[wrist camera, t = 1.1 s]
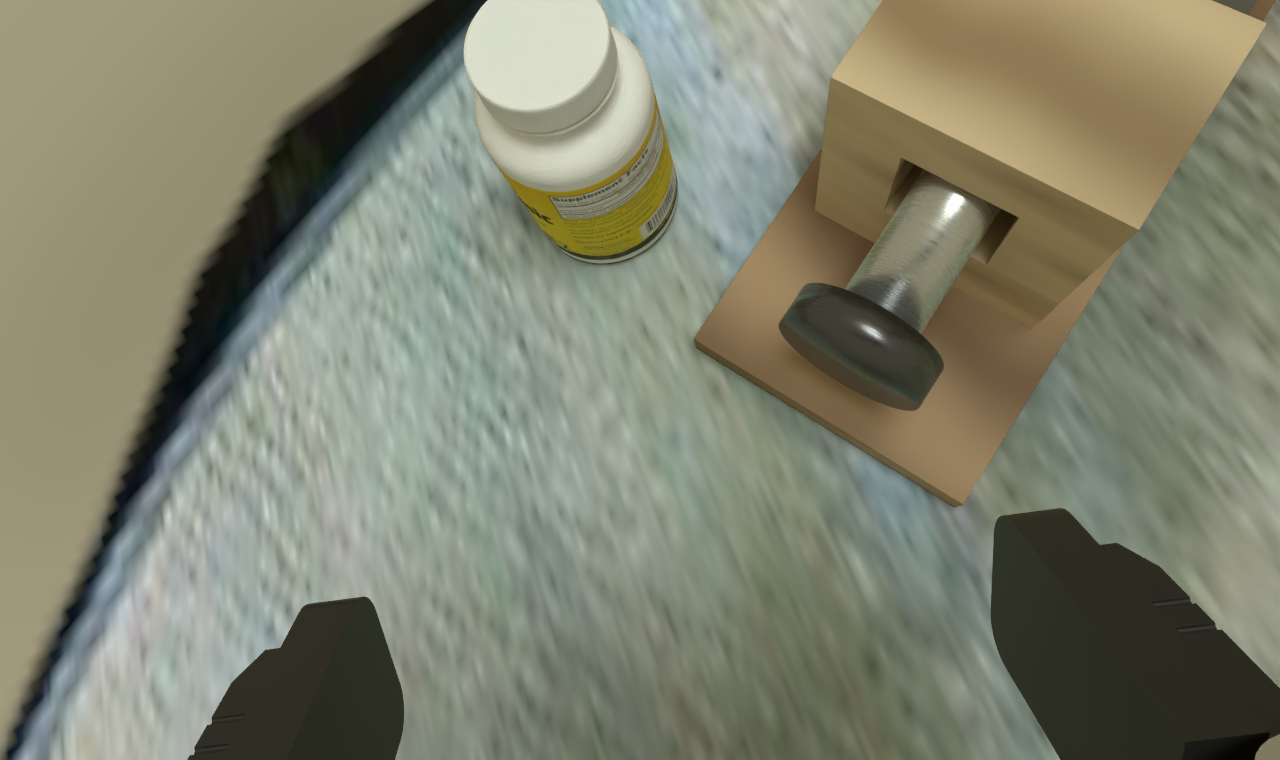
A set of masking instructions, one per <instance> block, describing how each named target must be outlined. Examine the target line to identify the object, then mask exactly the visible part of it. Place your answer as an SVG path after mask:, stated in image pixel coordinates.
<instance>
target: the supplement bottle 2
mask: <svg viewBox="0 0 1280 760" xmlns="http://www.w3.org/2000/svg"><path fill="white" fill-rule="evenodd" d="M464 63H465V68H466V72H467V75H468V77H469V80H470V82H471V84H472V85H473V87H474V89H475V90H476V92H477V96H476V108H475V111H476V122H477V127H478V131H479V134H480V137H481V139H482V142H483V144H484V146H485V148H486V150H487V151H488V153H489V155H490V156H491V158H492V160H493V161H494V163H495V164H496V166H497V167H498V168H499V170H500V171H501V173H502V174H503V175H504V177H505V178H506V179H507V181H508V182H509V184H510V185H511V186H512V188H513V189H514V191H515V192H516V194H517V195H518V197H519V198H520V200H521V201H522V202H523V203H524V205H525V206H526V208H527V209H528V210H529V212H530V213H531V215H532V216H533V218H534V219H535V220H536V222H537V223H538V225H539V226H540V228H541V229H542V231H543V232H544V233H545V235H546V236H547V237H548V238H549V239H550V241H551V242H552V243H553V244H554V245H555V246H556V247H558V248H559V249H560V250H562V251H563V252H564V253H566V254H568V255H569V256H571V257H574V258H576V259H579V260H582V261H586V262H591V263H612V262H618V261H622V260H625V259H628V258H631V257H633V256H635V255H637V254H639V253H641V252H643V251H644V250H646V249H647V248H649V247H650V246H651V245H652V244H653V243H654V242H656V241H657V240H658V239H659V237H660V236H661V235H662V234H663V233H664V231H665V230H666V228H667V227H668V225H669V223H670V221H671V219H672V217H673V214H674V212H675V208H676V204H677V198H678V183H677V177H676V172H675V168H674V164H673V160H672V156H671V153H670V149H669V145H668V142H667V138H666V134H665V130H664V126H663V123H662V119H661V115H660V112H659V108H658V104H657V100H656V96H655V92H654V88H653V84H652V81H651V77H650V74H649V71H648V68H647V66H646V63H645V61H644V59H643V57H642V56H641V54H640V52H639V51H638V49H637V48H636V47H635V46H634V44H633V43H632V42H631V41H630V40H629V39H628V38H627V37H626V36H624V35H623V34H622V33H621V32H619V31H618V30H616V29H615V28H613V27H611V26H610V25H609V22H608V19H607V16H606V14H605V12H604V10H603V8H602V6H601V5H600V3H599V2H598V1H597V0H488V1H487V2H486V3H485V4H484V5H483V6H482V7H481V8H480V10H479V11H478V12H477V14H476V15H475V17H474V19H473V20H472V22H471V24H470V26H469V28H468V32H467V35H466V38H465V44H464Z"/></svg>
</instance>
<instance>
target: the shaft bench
mask: <svg viewBox="0 0 1280 760" xmlns="http://www.w3.org/2000/svg"><path fill="white" fill-rule="evenodd" d="M1274 2H1275V0H883V1H882V2H881V4H880V5H879V7H878V8H877V10H876V11H875V13H874V14H873V16H872V17H871V19H870V20H869V22H868V23H867V24H866V26H865V27H864V29H863V30H862V32H861V33H860V35H859V36H858V38H857V39H856V41H855V42H854V44H853V45H852V46H851V48H850V49H849V51H848V52H847V54H846V55H845V57H844V58H843V60H842V61H841V63H840V64H839V66H838V67H837V68H836V70H835V71H834V73H833V74H832V76H831V79H830V87H829V95H828V104H827V112H826V120H825V128H824V137H823V145H822V150H821V151H820V153H819V154H818V155H817V157H816V158H815V160H814V161H813V163H812V164H811V166H810V167H809V169H808V170H807V172H806V173H805V175H804V176H803V178H802V179H801V181H800V182H799V184H798V185H797V187H796V188H795V190H794V191H793V193H792V194H791V195H790V197H789V198H788V200H787V201H786V203H785V204H784V206H783V207H782V209H781V210H780V212H779V213H778V215H777V216H776V218H775V219H774V221H773V222H772V224H771V225H770V227H769V228H768V230H767V231H766V232H765V234H764V235H763V237H762V238H761V240H760V241H759V243H758V244H757V246H756V247H755V249H754V250H753V252H752V253H751V255H750V256H749V258H748V259H747V261H746V262H745V264H744V265H743V267H742V268H741V270H740V271H739V272H738V274H737V275H736V277H735V278H734V280H733V281H732V283H731V284H730V286H729V287H728V289H727V290H726V292H725V293H724V295H723V296H722V298H721V299H720V301H719V302H718V304H717V305H716V307H715V308H714V310H713V311H712V312H711V314H710V315H709V317H708V318H707V320H706V321H705V323H704V324H703V326H702V327H701V329H700V330H699V332H698V333H697V335H696V336H695V338H694V342H695V345H696V348H697V349H699V350H701V351H702V352H704V353H705V354H707V355H709V356H710V357H712V358H714V359H715V360H717V361H718V362H720V363H722V364H723V365H725V366H727V367H728V368H730V369H731V370H733V371H735V372H736V373H738V374H739V375H741V376H743V377H744V378H746V379H748V380H749V381H751V382H752V383H754V384H756V385H757V386H759V387H761V388H762V389H764V390H765V391H767V392H769V393H770V394H772V395H774V396H775V397H777V398H778V399H780V400H782V401H783V402H785V403H786V404H788V405H790V406H791V407H793V408H795V409H796V410H798V411H799V412H801V413H803V414H804V415H806V416H808V417H809V418H811V419H812V420H814V421H816V422H817V423H819V424H821V425H822V426H824V427H825V428H827V429H829V430H830V431H832V432H833V433H835V434H837V435H838V436H840V437H842V438H843V439H845V440H846V441H848V442H850V443H851V444H853V445H855V446H856V447H858V448H859V449H861V450H863V451H864V452H866V453H868V454H869V455H871V456H872V457H874V458H876V459H877V460H879V461H881V462H882V463H884V464H885V465H887V466H889V467H890V468H892V469H893V470H895V471H897V472H898V473H900V474H902V475H903V476H905V477H906V478H908V479H910V480H911V481H913V482H915V483H916V484H918V485H919V486H921V487H923V488H924V489H926V490H928V491H929V492H931V493H932V494H934V495H936V496H937V497H939V498H940V499H942V500H944V501H945V502H947V503H949V504H950V505H952V506H953V507H957V506H960V505H963V504H964V502H965V501H966V499H967V497H968V496H969V494H970V492H971V491H972V489H973V488H974V486H975V484H976V483H977V481H978V480H979V478H980V476H981V475H982V473H983V472H984V470H985V468H986V467H987V465H988V463H989V462H990V460H991V459H992V457H993V455H994V454H995V452H996V451H997V449H998V447H999V446H1000V444H1001V442H1002V441H1003V439H1004V438H1005V436H1006V434H1007V433H1008V431H1009V430H1010V428H1011V426H1012V425H1013V423H1014V421H1015V420H1016V418H1017V417H1018V415H1019V413H1020V412H1021V410H1022V409H1023V407H1024V405H1025V404H1026V402H1027V401H1028V399H1029V397H1030V396H1031V394H1032V392H1033V391H1034V389H1035V388H1036V386H1037V384H1038V383H1039V381H1040V380H1041V378H1042V376H1043V375H1044V373H1045V371H1046V370H1047V368H1048V367H1049V365H1050V363H1051V362H1052V360H1053V359H1054V357H1055V355H1056V354H1057V352H1058V350H1059V349H1060V347H1061V346H1062V344H1063V342H1064V341H1065V339H1066V338H1067V336H1068V334H1069V333H1070V331H1071V330H1072V328H1073V326H1074V325H1075V323H1076V321H1077V320H1078V318H1079V317H1080V315H1081V313H1082V312H1083V310H1084V309H1085V307H1086V305H1087V304H1088V302H1089V300H1090V299H1091V297H1092V296H1093V294H1094V292H1095V291H1096V289H1097V288H1098V286H1099V284H1100V283H1101V281H1102V279H1103V278H1104V276H1105V275H1106V273H1107V271H1108V270H1109V268H1110V267H1111V265H1112V263H1113V262H1114V260H1115V259H1116V257H1117V255H1118V254H1119V252H1120V250H1121V249H1122V247H1123V246H1124V244H1125V243H1126V242H1127V241H1128V240H1129V239H1130V238H1131V237H1132V236H1133V235H1134V234H1135V233H1136V232H1137V231H1138V230H1139V229H1140V228H1141V226H1142V224H1143V223H1144V221H1145V220H1146V218H1147V216H1148V215H1149V213H1150V211H1151V210H1152V208H1153V207H1154V205H1155V203H1156V202H1157V200H1158V199H1159V197H1160V195H1161V194H1162V192H1163V190H1164V189H1165V187H1166V186H1167V184H1168V182H1169V181H1170V179H1171V178H1172V176H1173V174H1174V173H1175V171H1176V169H1177V168H1178V166H1179V165H1180V163H1181V161H1182V160H1183V158H1184V157H1185V155H1186V153H1187V152H1188V150H1189V148H1190V147H1191V145H1192V144H1193V142H1194V140H1195V139H1196V137H1197V135H1198V134H1199V132H1200V131H1201V129H1202V127H1203V126H1204V124H1205V123H1206V121H1207V119H1208V118H1209V116H1210V114H1211V113H1212V111H1213V110H1214V108H1215V106H1216V105H1217V103H1218V102H1219V100H1220V98H1221V97H1222V95H1223V93H1224V92H1225V90H1226V89H1227V87H1228V85H1229V84H1230V82H1231V81H1232V79H1233V77H1234V76H1235V74H1236V72H1237V71H1238V69H1239V68H1240V66H1241V64H1242V63H1243V61H1244V60H1245V58H1246V56H1247V55H1248V53H1249V51H1250V50H1251V48H1252V47H1253V45H1254V43H1255V42H1256V40H1257V39H1258V37H1259V35H1260V34H1261V32H1262V30H1263V29H1264V27H1265V26H1266V24H1267V23H1265V22H1263V20H1264V18H1265V16H1266V15H1267V13H1268V12H1269V10H1270V8H1271V7H1272V5H1273V4H1274ZM923 169H925V170H927V171H929V172H931V173H933V174H934V175H936V176H938V177H940V178H942V179H944V180H946V181H948V182H950V183H952V184H954V185H956V186H958V187H960V188H962V189H964V190H966V191H968V192H970V193H972V194H974V195H976V196H978V197H979V198H981V199H983V200H985V201H987V202H989V203H991V204H993V205H995V206H997V207H999V208H1001V210H1000V212H999V213H998V215H997V216H996V218H995V220H994V221H993V223H992V224H991V226H990V227H989V229H988V230H987V232H986V234H985V235H984V237H983V238H982V240H981V241H980V243H979V244H978V246H977V248H976V249H975V251H974V252H973V254H972V255H971V257H970V259H969V260H968V262H967V263H966V265H965V266H964V268H963V269H962V271H961V273H960V274H959V276H958V277H957V279H956V280H955V282H954V283H953V285H952V287H951V288H950V290H949V291H948V293H947V294H946V296H945V297H944V299H943V301H942V302H941V304H940V305H939V307H938V308H937V310H936V311H935V313H934V315H933V316H932V318H931V319H930V321H929V322H928V324H927V326H926V327H925V329H924V330H923V332H922V333H921V335H923V336H924V337H925V338H926V339H927V340H928V341H929V342H930V343H931V344H932V345H933V347H934V348H935V349H936V350H937V352H938V353H939V354H940V356H941V358H942V360H943V363H944V369H943V371H942V373H941V375H940V376H939V378H938V379H937V381H936V382H935V384H934V386H933V387H932V389H931V390H930V392H929V393H928V395H927V397H926V398H925V400H924V401H923V403H922V405H921V406H920V408H919V409H917V410H915V411H905V410H900V409H895V408H892V407H889V406H886V405H883V404H881V403H878V402H876V401H874V400H871V399H869V398H867V397H865V396H863V395H861V394H859V393H857V392H855V391H853V390H851V389H850V388H848V387H846V386H844V385H843V384H841V383H839V382H838V381H836V380H834V379H833V378H831V377H830V376H828V375H827V374H825V373H824V372H822V371H821V370H819V369H818V368H817V367H815V366H814V365H813V364H811V363H810V362H809V361H807V360H806V359H805V358H804V357H803V356H801V355H800V354H799V353H798V352H797V351H796V350H795V349H794V348H793V347H792V346H791V345H790V344H789V343H788V342H787V341H786V340H785V338H784V337H783V336H782V334H781V332H780V330H779V326H778V325H779V322H780V321H781V319H782V318H783V316H784V315H785V313H786V312H787V310H788V309H789V307H790V306H791V304H792V303H793V301H794V299H795V298H796V296H797V295H798V293H799V292H800V290H801V289H802V288H803V286H804V285H806V284H809V283H824V284H829V285H833V286H837V287H840V288H843V289H845V288H846V286H847V285H848V283H849V282H850V280H851V279H852V277H853V276H854V274H855V273H856V271H857V270H858V268H859V267H860V265H861V264H862V262H863V261H864V259H865V257H866V256H867V254H868V253H869V251H870V250H871V248H872V247H873V245H874V244H875V242H876V241H877V239H878V238H879V236H880V235H881V233H882V232H883V230H884V229H885V227H886V226H887V224H888V222H889V221H890V219H891V218H892V216H893V215H894V213H895V212H896V210H897V209H898V207H899V206H900V204H901V203H902V201H903V200H904V198H905V197H906V195H907V194H908V192H909V191H910V189H911V188H912V186H913V184H914V183H915V181H916V180H917V178H918V177H919V175H920V174H921V172H922V171H923Z"/></svg>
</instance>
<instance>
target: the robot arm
mask: <svg viewBox="0 0 1280 760" xmlns="http://www.w3.org/2000/svg"><path fill="white" fill-rule="evenodd" d="M991 624H992V630H993V635H994V639H995V643H996V646H997V649H998V652H999V655H1000V657H1001V659H1002V661H1003V663H1004V665H1005V667H1006V669H1007V670H1008V672H1009V674H1010V676H1011V677H1012V679H1013V681H1014V682H1015V684H1016V686H1017V687H1018V689H1019V691H1020V692H1021V694H1022V696H1023V697H1024V699H1025V701H1026V702H1027V704H1028V706H1029V707H1030V709H1031V711H1032V712H1033V714H1034V716H1035V717H1036V719H1037V721H1038V722H1039V724H1040V726H1041V727H1042V729H1043V731H1044V732H1045V734H1046V736H1047V737H1048V739H1049V741H1050V742H1051V744H1052V746H1053V747H1054V749H1055V751H1056V753H1057V754H1058V756H1059V758H1060V759H1061V760H1280V688H1279V687H1278V686H1277V685H1276V684H1275V683H1274V682H1273V681H1272V680H1271V679H1270V678H1269V677H1268V676H1267V675H1266V674H1265V673H1264V672H1263V671H1262V670H1261V669H1260V668H1259V667H1258V666H1257V665H1256V664H1255V663H1254V662H1253V661H1252V660H1251V659H1250V658H1249V657H1248V656H1247V655H1246V654H1245V653H1244V652H1243V651H1242V650H1241V649H1240V648H1239V647H1238V646H1237V645H1236V644H1235V643H1234V642H1233V641H1232V640H1231V639H1230V638H1229V637H1228V636H1227V634H1226V633H1225V632H1224V631H1223V630H1217V629H1216V626H1215V622H1214V621H1213V620H1212V619H1211V618H1210V617H1209V616H1208V615H1207V614H1206V613H1205V612H1204V611H1203V610H1202V609H1201V608H1200V607H1199V606H1198V605H1197V604H1192V603H1191V601H1190V597H1189V596H1188V595H1187V594H1186V593H1185V592H1184V591H1183V590H1182V589H1181V588H1180V587H1179V586H1178V585H1177V584H1176V583H1175V582H1174V581H1173V580H1172V579H1171V578H1170V577H1169V576H1168V575H1167V574H1166V573H1165V572H1164V571H1163V570H1162V569H1161V568H1160V567H1159V566H1157V565H1156V564H1154V563H1152V562H1150V561H1148V560H1147V559H1145V558H1143V557H1141V556H1139V555H1138V554H1136V553H1134V552H1132V551H1130V550H1129V549H1127V548H1125V547H1123V546H1121V545H1120V544H1118V543H1113V544H1105V545H1099V544H1098V543H1097V542H1096V541H1095V540H1094V539H1093V538H1092V536H1091V535H1090V534H1089V533H1088V532H1087V531H1086V530H1085V529H1084V528H1083V527H1082V525H1081V524H1080V523H1079V522H1078V521H1077V520H1076V519H1075V518H1074V517H1073V516H1072V515H1071V514H1070V513H1069V512H1068V511H1067V510H1065V509H1062V508H1059V509H1051V510H1043V511H1035V512H1028V513H1020V514H1012V515H1004V516H1000V517H999V518H998V519H997V521H996V524H995V528H994V546H993V570H992V594H991ZM403 723H404V702H403V694H402V689H401V685H400V682H399V679H398V676H397V673H396V670H395V667H394V664H393V661H392V658H391V655H390V652H389V649H388V646H387V643H386V640H385V636H384V633H383V630H382V627H381V624H380V621H379V618H378V615H377V612H376V610H375V607H374V605H373V603H372V602H371V601H370V599H368V598H367V597H358V598H350V599H342V600H335V601H327V602H319V603H312V604H307V605H305V606H304V607H303V608H302V609H301V611H300V612H299V614H298V616H297V618H296V619H295V621H294V623H293V625H292V627H291V629H290V631H289V633H288V635H287V636H286V638H285V640H284V642H283V644H282V646H281V648H277V649H270V650H265V651H264V652H263V653H262V654H261V655H260V656H259V657H258V658H257V659H256V660H255V661H254V662H253V663H252V664H251V665H249V666H248V667H247V668H246V669H245V670H244V671H243V672H242V673H241V674H240V675H239V676H238V677H237V678H236V679H235V680H234V681H233V682H232V683H231V685H230V687H229V688H228V690H227V692H226V694H225V695H224V697H223V699H222V701H221V702H220V704H219V706H218V708H217V709H216V711H215V713H214V714H213V716H212V724H211V725H207V727H206V728H205V730H204V732H203V734H202V735H201V737H200V739H199V741H198V742H197V744H196V746H195V753H194V755H190V756H189V758H188V760H395V757H396V754H397V750H398V747H399V744H400V740H401V736H402V731H403Z"/></svg>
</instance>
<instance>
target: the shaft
mask: <svg viewBox="0 0 1280 760" xmlns="http://www.w3.org/2000/svg"><path fill="white" fill-rule="evenodd" d="M1000 210H1001V208H999V207H997V206H995V205H993V204H991V203H989V202H987V201H985V200H983V199H981V198H979V197H978V196H976V195H974V194H972V193H970V192H968V191H966V190H964V189H962V188H960V187H958V186H956V185H954V184H952V183H950V182H948V181H946V180H944V179H942V178H940V177H938V176H936V175H934V174H933V173H931V172H929V171H927V170H925V169H923V171H922V172H921V174H920V175H919V177H918V178H917V180H916V181H915V183H914V184H913V186H912V188H911V189H910V191H909V192H908V194H907V195H906V197H905V198H904V200H903V201H902V203H901V204H900V206H899V207H898V209H897V210H896V212H895V213H894V215H893V216H892V218H891V219H890V221H889V222H888V224H887V226H886V227H885V229H884V230H883V232H882V233H881V235H880V236H879V238H878V239H877V241H876V242H875V244H874V245H873V247H872V248H871V250H870V251H869V253H868V254H867V256H866V257H865V259H864V261H863V262H862V264H861V265H860V267H859V268H858V270H857V271H856V273H855V274H854V276H853V277H852V279H851V280H850V282H849V283H848V285H847V286H846V288H845V289H843V288H840V287H837V286H833V285H829V284H824V283H809V284H806V285H804V286H803V288H802V289H801V290H800V292H799V293H798V295H797V296H796V298H795V299H794V301H793V303H792V304H791V306H790V307H789V309H788V310H787V312H786V313H785V315H784V316H783V318H782V319H781V321H780V322H779V325H778V326H779V330H780V332H781V334H782V336H783V337H784V338H785V340H786V341H787V342H788V343H789V344H790V345H791V346H792V347H793V348H794V349H795V350H796V351H797V352H798V353H799V354H800V355H801V356H803V357H804V358H805V359H806V360H807V361H809V362H810V363H811V364H813V365H814V366H815V367H817V368H818V369H819V370H821V371H822V372H824V373H825V374H827V375H828V376H830V377H831V378H833V379H834V380H836V381H838V382H839V383H841V384H843V385H844V386H846V387H848V388H850V389H851V390H853V391H855V392H857V393H859V394H861V395H863V396H865V397H867V398H869V399H871V400H874V401H876V402H878V403H881V404H883V405H886V406H889V407H892V408H895V409H900V410H905V411H915V410H917V409H919V408H920V406H921V405H922V403H923V401H924V400H925V398H926V397H927V395H928V393H929V392H930V390H931V389H932V387H933V386H934V384H935V382H936V381H937V379H938V378H939V376H940V375H941V373H942V371H943V369H944V363H943V360H942V358H941V356H940V354H939V353H938V352H937V350H936V349H935V348H934V347H933V345H932V344H931V343H930V342H929V341H928V340H927V339H926V338H925V337H924V336H923V335H921V333H922V332H923V330H924V329H925V327H926V326H927V324H928V322H929V321H930V319H931V318H932V316H933V315H934V313H935V311H936V310H937V308H938V307H939V305H940V304H941V302H942V301H943V299H944V297H945V296H946V294H947V293H948V291H949V290H950V288H951V287H952V285H953V283H954V282H955V280H956V279H957V277H958V276H959V274H960V273H961V271H962V269H963V268H964V266H965V265H966V263H967V262H968V260H969V259H970V257H971V255H972V254H973V252H974V251H975V249H976V248H977V246H978V244H979V243H980V241H981V240H982V238H983V237H984V235H985V234H986V232H987V230H988V229H989V227H990V226H991V224H992V223H993V221H994V220H995V218H996V216H997V215H998V213H999V212H1000Z"/></svg>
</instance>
